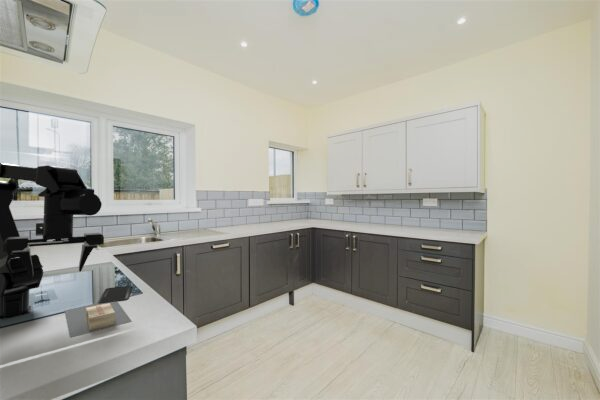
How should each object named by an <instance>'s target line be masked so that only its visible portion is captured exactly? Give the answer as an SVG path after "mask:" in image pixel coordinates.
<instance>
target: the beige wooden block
mask: <svg viewBox="0 0 600 400" xmlns="http://www.w3.org/2000/svg"><path fill="white" fill-rule="evenodd" d="M86 322H87V326H88V329H89V331H90V330H94V329H98V328H102V327H106V326H110V325H114V324H115V312H114V310H113V308H112V306H111V305H110V303H108V304H103V305H98V306H93V307H88V308H86Z"/></svg>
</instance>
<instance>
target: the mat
mask: <svg viewBox="0 0 600 400" xmlns="http://www.w3.org/2000/svg"><path fill="white" fill-rule="evenodd" d="M108 303H110V305H111V306H112V308H113V310H114V312H115V324H114V325H110V326H106V327H102V328H98V329H94V330H90V331H89V329H88V326H87V322H86V308H88V307H93V306H98V305H103V304H108ZM108 303H94V304H90V305H85V306H80V307H75V308H70V309H65V310H64V314H65V319H66V324H67V328H68V329H67V330H68V335H69V338H74V337H78V336H79V337H80V336H83V335H86V334H90V333H94V332H97V331H100V330H102V331H103V330H105V329H110V328H113V327H116V326H120V325H121V326H122V325H123V324H128V323H132V322H133V321H132V319H131V318H130V317H129V316H128V314H127V313H126V311H125V310H124V308H123V307H122V306H121V304H120V303H119V301H116V302H108Z"/></svg>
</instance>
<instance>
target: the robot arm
mask: <svg viewBox="0 0 600 400" xmlns="http://www.w3.org/2000/svg"><path fill="white" fill-rule="evenodd" d="M0 178H1V179H9V180H8V181H5V180H0V320H2V319H3V320H4V319H8V318H13V317H17V316H18V317H19V316H24V315H27V314H30V313H32V312H31V311H32V306H31V305H30V290H32V289H38V288H39V287H40V286H41V282H42V279H43V275H44V270H43V268H44V265H42V263H41V261H40V256H39V255H38V254H32V253H31V247H41V246H43V247H44V246H57V245H58V246H59V245H71V244H82V245H81V252H80V257H79V258H80V259H79V264H78V271H79V273H80V272H82V270H83V268H84V266H85V263H86V262H87V259H88V257H89V256H90V254H91V253H92V251H93V250H94V249H97V248H98V247H99V246H98V245H104V242H105V237H104V236H105V235H103V234H102V233H100V232H89V233H87V232H86V233H84V234H83V235H77V236H74V216H94V215H97V214H98V213H99V212H100V211H101V208H102V201H101V199H100V197H99V195H96V194H95V189H94V188H88V187H87V185H86V184H85V182H84V181H83V178H82V177H81V175H80V174H79V172H78V170H77V169H75V168H71V167H64V166H56V165H50V164H47V165H38V166H37V167H29V166H24V165H22V166H21V165H18V164H13V163H12V164H11V163H3V162H0ZM21 180H22V181H29V182H34V183H35V184H36V185H37V186H40V187H43V188H45V189H44V190H43V191H41V192H39V193H38V195H37V196H38V198H39V197H40V198H43V197H44V199H43V222H36V223H35V236H36V237H41V236H42V238H30V237H29V236H21V235H20V232H19V230H18V227H17V225H16V222H15V219H14V216H13V214H12V211H11V208H10V206H11V203H12V202H13V200H14V198H15V195H14V193H15V192H16V191H17V190H18V189H19V188H20V186H19V181H21ZM51 240H52V241H51Z"/></svg>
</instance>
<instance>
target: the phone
mask: <svg viewBox="0 0 600 400" xmlns="http://www.w3.org/2000/svg"><path fill="white" fill-rule="evenodd" d="M132 288H133V285H127V286H126V285H125V286H115V287H108V288H105V289H104V291H103V293H102V294H101V296H100V298H99V299H98V301H97V304H99V303H108V302H116V301H117V302H123V301H127V300H129V299H130V295H131V291H132Z"/></svg>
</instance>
